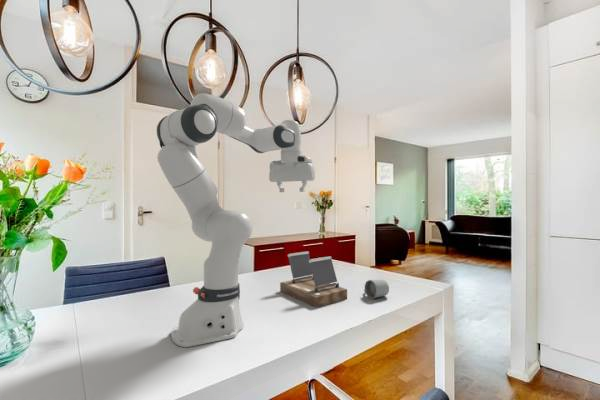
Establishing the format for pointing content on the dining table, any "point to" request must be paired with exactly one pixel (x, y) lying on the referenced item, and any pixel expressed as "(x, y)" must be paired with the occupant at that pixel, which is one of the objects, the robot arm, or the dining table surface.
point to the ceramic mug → (376, 288)
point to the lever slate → (323, 271)
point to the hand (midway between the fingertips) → (291, 192)
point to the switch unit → (313, 291)
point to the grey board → (300, 264)
